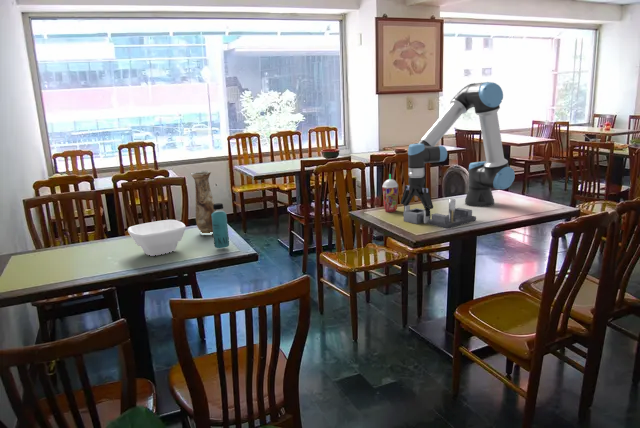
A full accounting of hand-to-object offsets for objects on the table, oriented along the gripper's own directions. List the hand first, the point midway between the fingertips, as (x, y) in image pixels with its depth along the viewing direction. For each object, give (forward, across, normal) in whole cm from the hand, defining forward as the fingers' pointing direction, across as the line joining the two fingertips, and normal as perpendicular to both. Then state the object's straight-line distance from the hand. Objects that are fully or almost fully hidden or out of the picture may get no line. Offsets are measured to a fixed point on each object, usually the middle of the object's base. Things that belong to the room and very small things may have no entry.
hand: (416, 220), depth 240 cm
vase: (+1, -55, -85) cm, 101 cm away
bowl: (+1, -40, -113) cm, 120 cm away
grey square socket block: (0, 0, 0) cm, 0 cm away
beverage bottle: (+1, -25, -91) cm, 94 cm away
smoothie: (0, -25, +6) cm, 26 cm away
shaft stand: (0, +14, +9) cm, 17 cm away
